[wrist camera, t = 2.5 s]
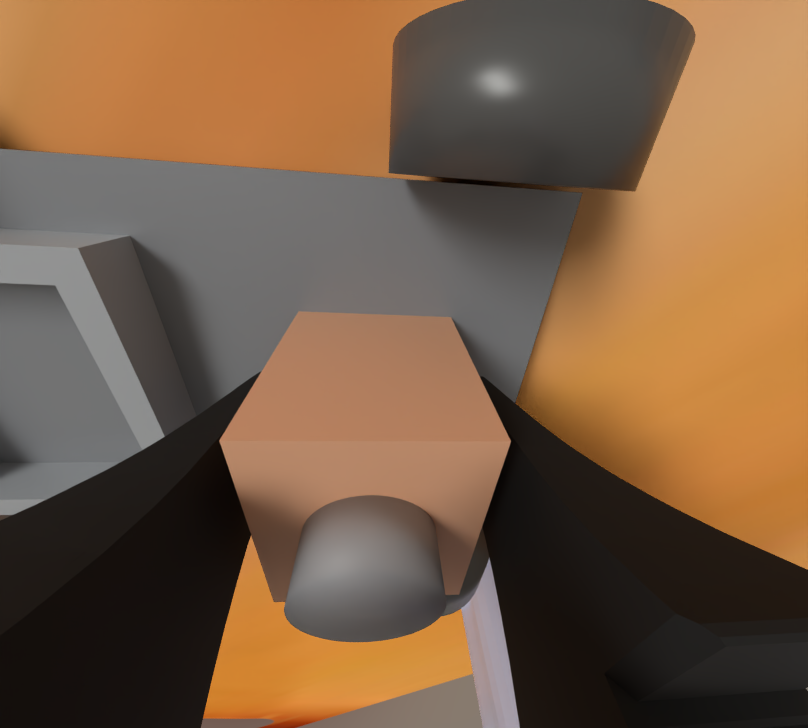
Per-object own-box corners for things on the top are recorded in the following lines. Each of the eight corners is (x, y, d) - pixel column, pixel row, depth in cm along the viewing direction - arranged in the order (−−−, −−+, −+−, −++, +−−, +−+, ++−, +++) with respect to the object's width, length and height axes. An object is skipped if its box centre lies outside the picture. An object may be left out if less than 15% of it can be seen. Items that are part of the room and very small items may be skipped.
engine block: (431, 443, 12) (471, 659, 7) (314, 443, 11) (256, 672, 6) (451, 316, 9) (544, 512, 4) (298, 311, 9) (171, 518, 3)
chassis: (471, 504, 16) (501, 613, 12) (39, 510, 14) (-94, 641, 10) (588, 101, 7) (815, 20, 4) (-424, -3, 6) (-2141, -381, 2)
